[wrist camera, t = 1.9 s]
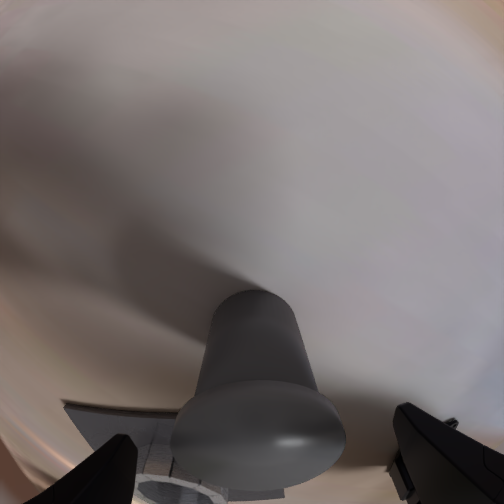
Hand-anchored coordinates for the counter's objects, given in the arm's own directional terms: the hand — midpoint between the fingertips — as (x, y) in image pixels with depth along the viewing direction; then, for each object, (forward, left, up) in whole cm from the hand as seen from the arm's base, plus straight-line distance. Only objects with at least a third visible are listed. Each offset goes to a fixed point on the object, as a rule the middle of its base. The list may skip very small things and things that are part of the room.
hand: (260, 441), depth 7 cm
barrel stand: (+8, +13, -7) cm, 17 cm away
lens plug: (0, 0, -7) cm, 7 cm away
